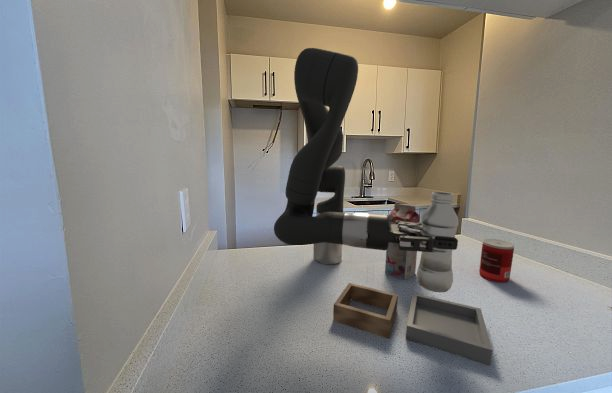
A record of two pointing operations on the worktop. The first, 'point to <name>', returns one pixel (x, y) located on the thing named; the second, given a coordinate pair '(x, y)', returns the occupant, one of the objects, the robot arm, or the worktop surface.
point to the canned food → (496, 260)
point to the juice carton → (397, 259)
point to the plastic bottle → (438, 263)
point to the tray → (449, 328)
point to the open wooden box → (365, 318)
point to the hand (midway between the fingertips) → (451, 238)
